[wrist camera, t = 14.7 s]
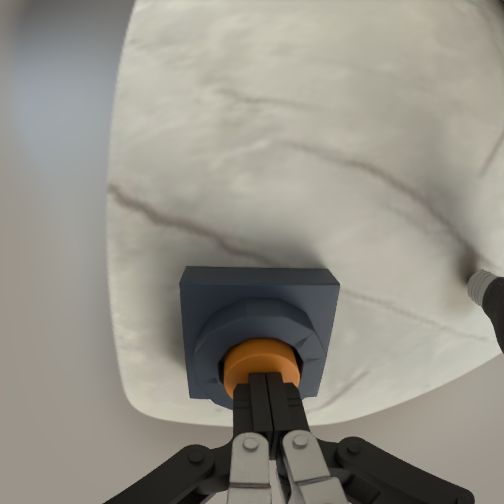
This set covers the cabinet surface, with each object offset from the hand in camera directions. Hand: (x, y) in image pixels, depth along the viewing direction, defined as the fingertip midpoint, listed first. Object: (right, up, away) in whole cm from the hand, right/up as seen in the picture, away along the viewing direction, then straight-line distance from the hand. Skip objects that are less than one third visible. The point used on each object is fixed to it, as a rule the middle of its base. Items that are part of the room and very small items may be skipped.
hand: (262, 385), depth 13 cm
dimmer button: (0, +1, +2) cm, 2 cm away
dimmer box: (0, +2, +5) cm, 5 cm away
